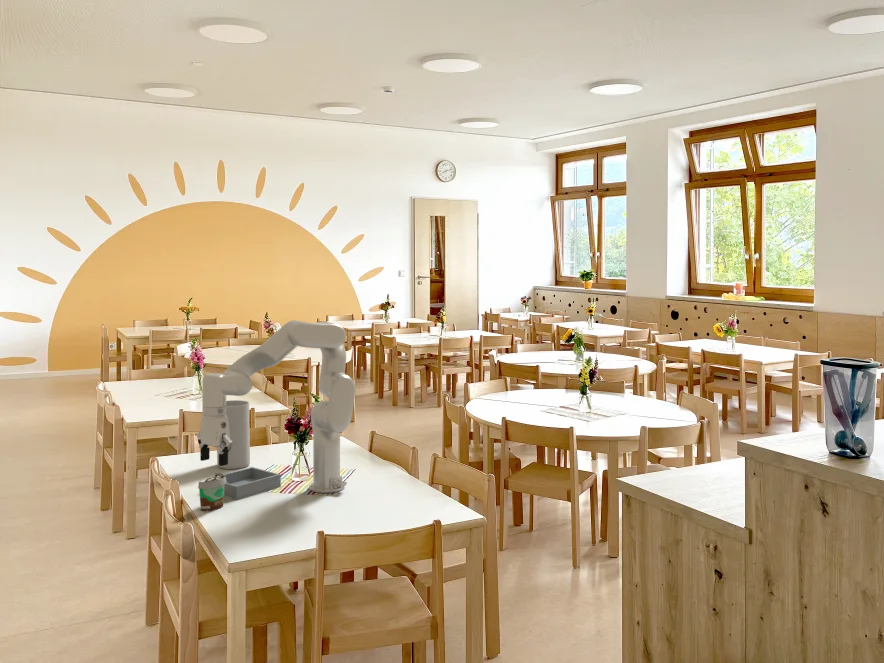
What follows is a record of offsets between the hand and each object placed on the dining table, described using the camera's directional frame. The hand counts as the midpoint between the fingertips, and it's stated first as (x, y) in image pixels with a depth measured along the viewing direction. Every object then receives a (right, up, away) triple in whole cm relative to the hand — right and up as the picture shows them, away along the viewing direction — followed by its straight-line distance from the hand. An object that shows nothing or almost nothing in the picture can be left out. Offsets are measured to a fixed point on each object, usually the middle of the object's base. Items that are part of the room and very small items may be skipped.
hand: (214, 462), depth 260 cm
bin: (+5, -13, +22) cm, 26 cm away
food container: (0, -15, +2) cm, 15 cm away
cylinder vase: (-7, -10, +53) cm, 54 cm away
